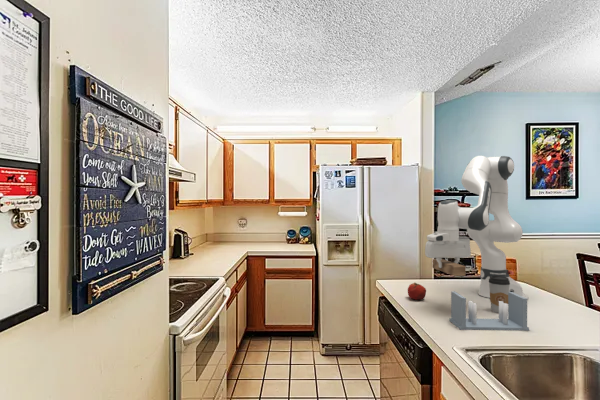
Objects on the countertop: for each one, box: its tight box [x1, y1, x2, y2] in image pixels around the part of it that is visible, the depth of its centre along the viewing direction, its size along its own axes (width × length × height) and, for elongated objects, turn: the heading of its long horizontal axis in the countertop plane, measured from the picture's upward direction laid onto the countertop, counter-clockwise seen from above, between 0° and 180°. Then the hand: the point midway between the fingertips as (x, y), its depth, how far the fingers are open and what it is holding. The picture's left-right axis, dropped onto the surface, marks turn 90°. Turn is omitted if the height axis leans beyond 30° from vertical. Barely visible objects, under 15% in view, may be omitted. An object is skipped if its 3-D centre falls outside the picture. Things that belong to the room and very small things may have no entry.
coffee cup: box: [489, 276, 510, 314], centre depth 156 cm, size 8×8×15 cm
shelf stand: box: [448, 290, 530, 332], centre depth 138 cm, size 26×10×12 cm, turn 88°
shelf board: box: [431, 258, 467, 277], centre depth 156 cm, size 18×5×4 cm, turn 8°
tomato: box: [407, 282, 427, 301], centre depth 175 cm, size 9×9×8 cm
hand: (447, 267), depth 156 cm, fingers closed on shelf board, 5 cm apart
